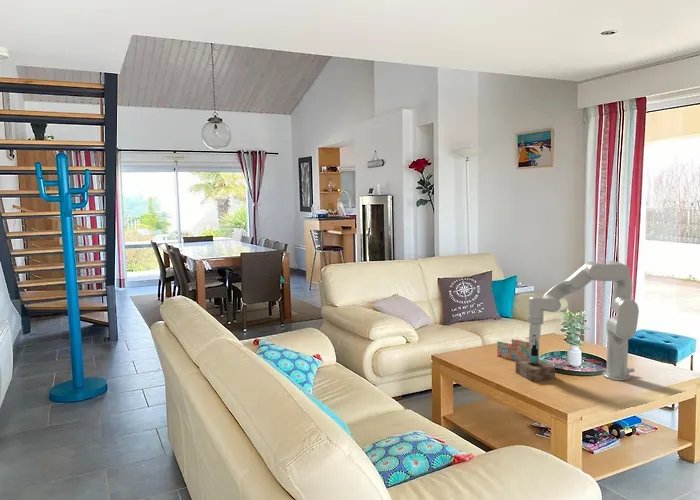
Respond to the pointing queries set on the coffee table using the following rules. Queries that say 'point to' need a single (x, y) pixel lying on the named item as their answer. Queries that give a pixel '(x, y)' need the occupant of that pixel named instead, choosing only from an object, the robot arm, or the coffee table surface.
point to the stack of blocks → (514, 349)
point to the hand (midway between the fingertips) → (534, 354)
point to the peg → (535, 358)
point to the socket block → (535, 370)
